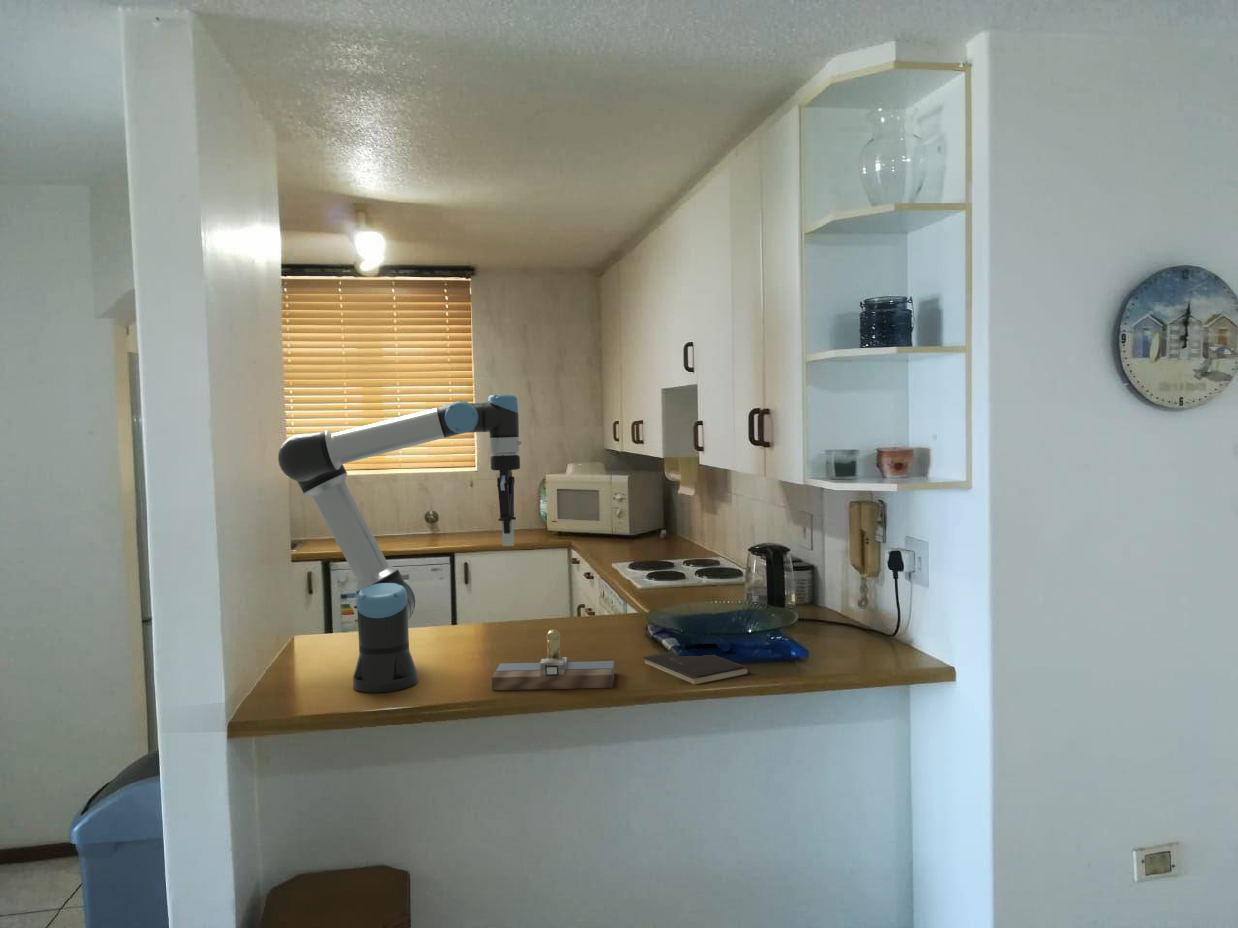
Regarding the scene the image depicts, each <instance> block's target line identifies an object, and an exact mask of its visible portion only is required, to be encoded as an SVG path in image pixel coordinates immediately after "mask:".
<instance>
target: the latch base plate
mask: <svg viewBox="0 0 1238 928" xmlns="http://www.w3.org/2000/svg"><path fill="white" fill-rule="evenodd" d="M562 658H565V670H584V669H613V681H614V678H615V661H614V660H604V661H603V660H602V661H601V660H598V661H597V660H596V661H568V657H567V656H563V657H562ZM545 659H548V657H546V658H545ZM539 670H540V662H518V663H517V662H514V663H512V662H511V663H510V662H509V663H499V665H498V666H497V668H496V669H495V671H539Z"/></svg>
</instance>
